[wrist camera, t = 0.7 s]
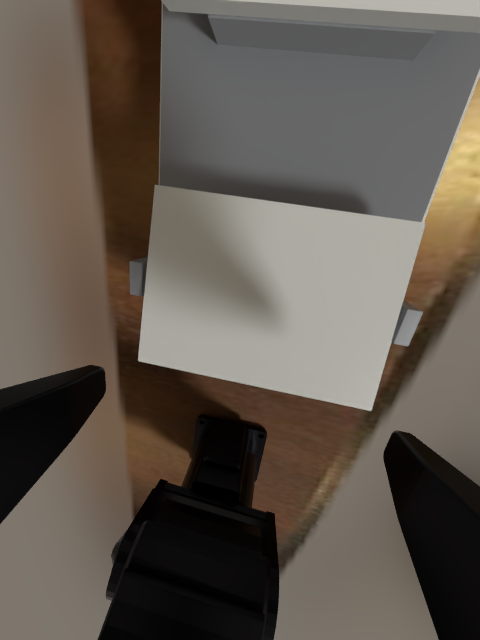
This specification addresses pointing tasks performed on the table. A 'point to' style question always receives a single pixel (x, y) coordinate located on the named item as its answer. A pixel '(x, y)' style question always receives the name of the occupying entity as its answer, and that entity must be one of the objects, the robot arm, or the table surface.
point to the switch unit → (311, 115)
